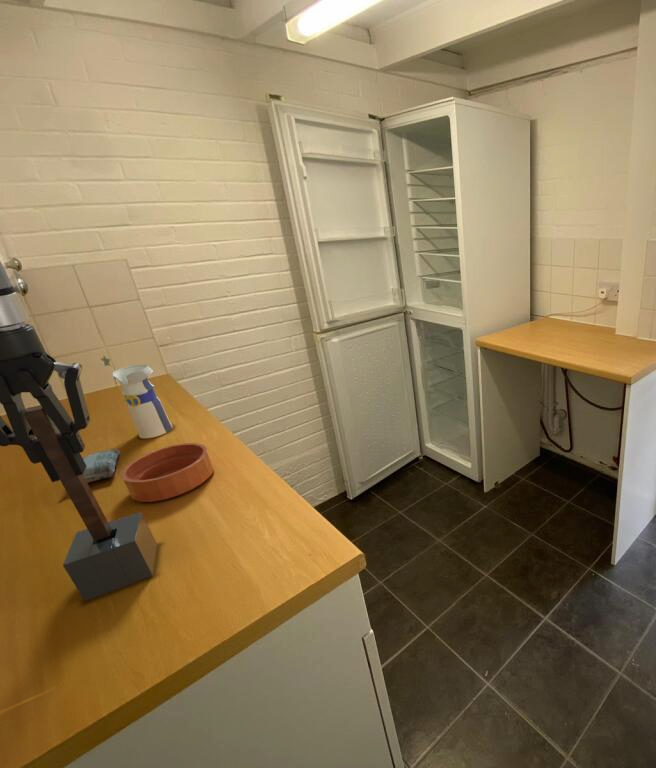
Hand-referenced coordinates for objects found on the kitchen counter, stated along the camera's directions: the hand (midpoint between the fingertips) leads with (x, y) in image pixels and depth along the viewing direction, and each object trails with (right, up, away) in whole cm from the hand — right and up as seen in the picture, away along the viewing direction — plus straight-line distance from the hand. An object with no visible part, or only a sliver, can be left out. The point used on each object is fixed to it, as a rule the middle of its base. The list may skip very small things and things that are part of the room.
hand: (69, 473), depth 65 cm
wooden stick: (0, -11, +5) cm, 12 cm away
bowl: (-9, -9, +32) cm, 35 cm away
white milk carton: (-33, 0, +55) cm, 64 cm away
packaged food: (-31, -8, +36) cm, 48 cm away
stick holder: (+1, -19, +8) cm, 21 cm away
